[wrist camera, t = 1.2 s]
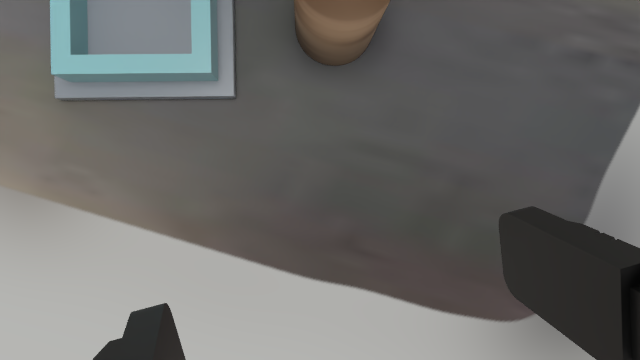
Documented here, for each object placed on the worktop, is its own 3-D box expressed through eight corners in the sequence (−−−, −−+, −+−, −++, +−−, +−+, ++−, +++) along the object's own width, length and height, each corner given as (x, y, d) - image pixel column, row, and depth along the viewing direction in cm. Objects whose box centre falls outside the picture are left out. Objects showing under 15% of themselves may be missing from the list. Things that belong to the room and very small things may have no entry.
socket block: (59, -73, 34) (31, -102, 30) (233, -73, 34) (225, -102, 31) (62, 100, 34) (34, 91, 30) (236, 98, 34) (228, 89, 31)
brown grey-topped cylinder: (294, -12, 34) (291, -93, 24) (372, -12, 35) (400, -92, 24) (295, 66, 34) (293, 18, 24) (373, 65, 35) (402, 17, 24)
